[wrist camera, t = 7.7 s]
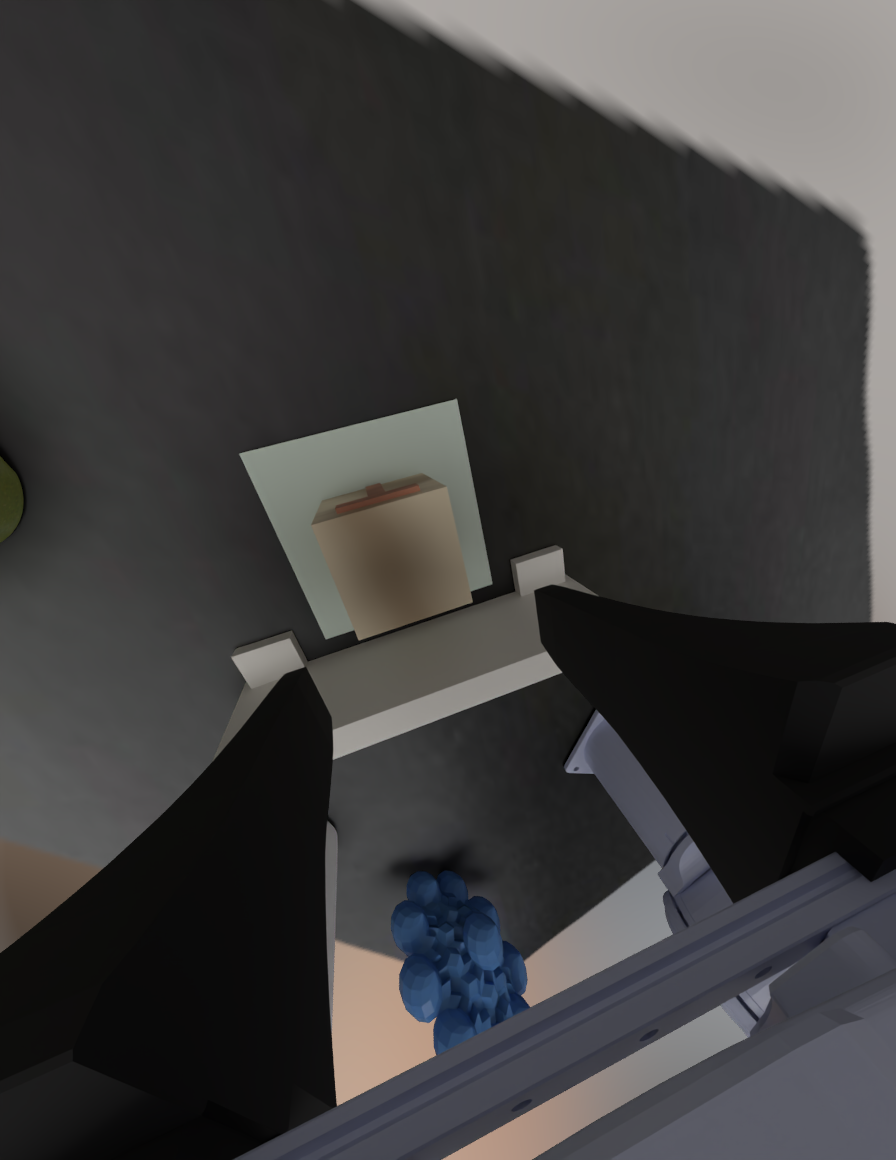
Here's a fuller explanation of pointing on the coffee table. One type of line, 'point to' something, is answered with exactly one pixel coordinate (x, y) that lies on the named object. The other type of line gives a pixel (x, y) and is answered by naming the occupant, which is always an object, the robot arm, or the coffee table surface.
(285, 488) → the sage mat
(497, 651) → the grey screen
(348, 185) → the coffee table surface
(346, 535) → the maple cube
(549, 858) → the coffee table surface
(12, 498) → the plant pot
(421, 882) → the grapes
